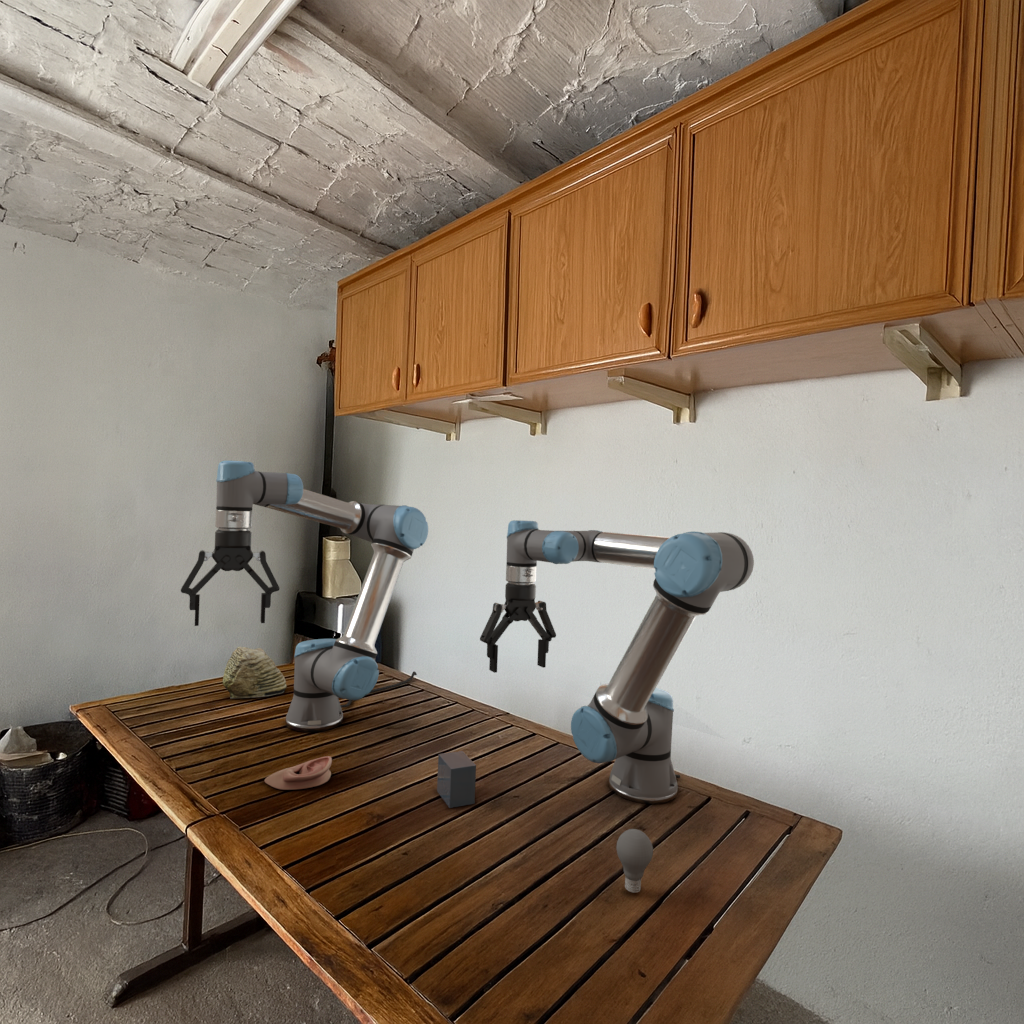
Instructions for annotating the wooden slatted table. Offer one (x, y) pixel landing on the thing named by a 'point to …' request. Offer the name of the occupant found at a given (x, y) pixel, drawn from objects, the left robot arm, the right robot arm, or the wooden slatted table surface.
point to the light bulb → (634, 857)
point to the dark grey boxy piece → (456, 779)
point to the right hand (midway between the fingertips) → (517, 668)
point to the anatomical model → (302, 775)
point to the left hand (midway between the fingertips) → (230, 623)
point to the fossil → (252, 674)
